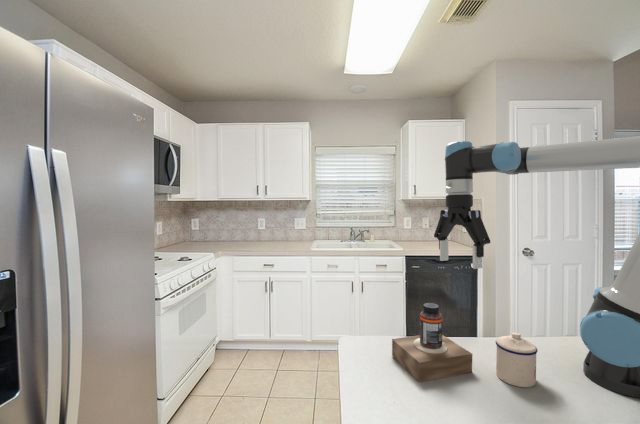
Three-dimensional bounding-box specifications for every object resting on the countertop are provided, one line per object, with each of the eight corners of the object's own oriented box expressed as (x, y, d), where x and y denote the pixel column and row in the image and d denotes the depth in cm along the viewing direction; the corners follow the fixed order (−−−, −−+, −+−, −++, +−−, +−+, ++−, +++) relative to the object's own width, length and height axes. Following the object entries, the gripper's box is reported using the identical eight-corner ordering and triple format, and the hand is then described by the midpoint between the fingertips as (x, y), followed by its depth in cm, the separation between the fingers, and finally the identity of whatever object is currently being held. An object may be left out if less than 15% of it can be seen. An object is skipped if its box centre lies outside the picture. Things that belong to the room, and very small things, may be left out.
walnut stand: (472, 372, 84) (472, 352, 83) (419, 382, 79) (419, 361, 79) (438, 348, 97) (438, 331, 97) (392, 355, 93) (392, 337, 93)
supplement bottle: (421, 338, 92) (421, 300, 91) (443, 342, 89) (443, 303, 89) (418, 347, 86) (418, 306, 86) (441, 351, 84) (441, 309, 83)
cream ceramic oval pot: (545, 388, 76) (546, 341, 76) (507, 388, 76) (508, 341, 76) (515, 363, 88) (516, 322, 88) (483, 363, 88) (483, 322, 88)
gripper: (422, 195, 106) (423, 258, 106) (482, 192, 82) (483, 273, 82) (441, 195, 108) (441, 257, 108) (504, 192, 84) (505, 270, 85)
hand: (459, 264), depth 95 cm, fingers open, 13 cm apart
